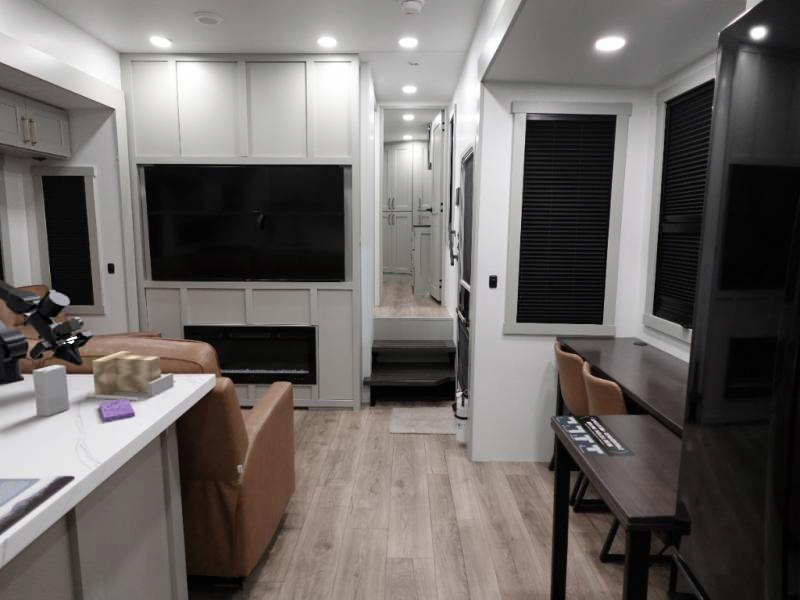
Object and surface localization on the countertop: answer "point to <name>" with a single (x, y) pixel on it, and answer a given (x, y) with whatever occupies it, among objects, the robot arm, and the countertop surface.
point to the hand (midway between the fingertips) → (81, 364)
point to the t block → (125, 372)
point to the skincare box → (51, 390)
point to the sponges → (116, 410)
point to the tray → (153, 388)
